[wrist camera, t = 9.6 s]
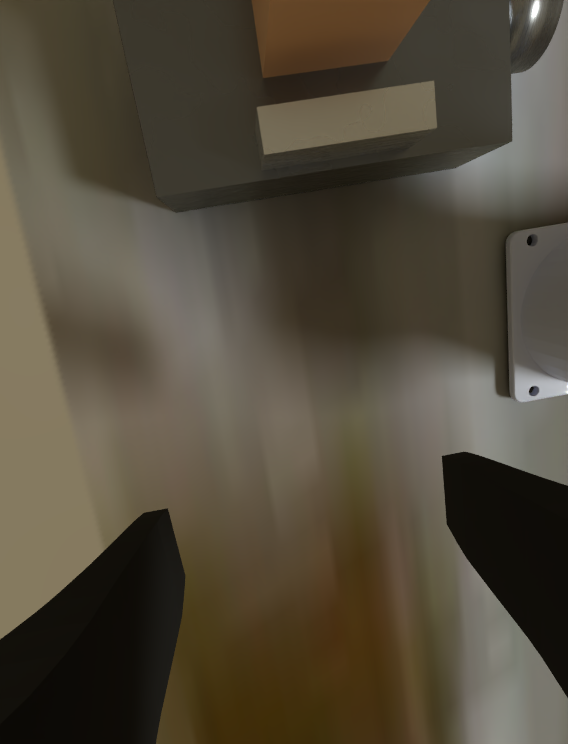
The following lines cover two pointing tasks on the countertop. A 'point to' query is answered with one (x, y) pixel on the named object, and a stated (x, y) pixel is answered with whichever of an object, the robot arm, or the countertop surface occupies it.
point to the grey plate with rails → (320, 99)
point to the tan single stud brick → (329, 32)
